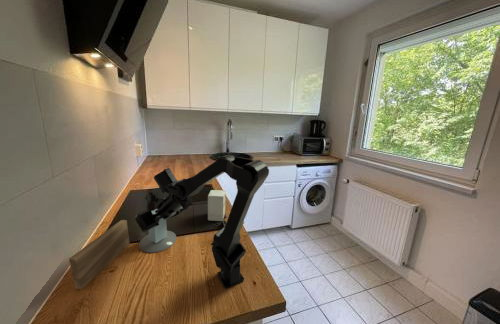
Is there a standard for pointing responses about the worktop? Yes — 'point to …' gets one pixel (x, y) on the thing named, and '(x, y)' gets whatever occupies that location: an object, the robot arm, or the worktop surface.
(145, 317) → the worktop surface
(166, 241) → the saucer
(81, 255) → the backboard
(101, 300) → the worktop surface
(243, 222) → the pastry
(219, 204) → the supplement box
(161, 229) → the blue block
